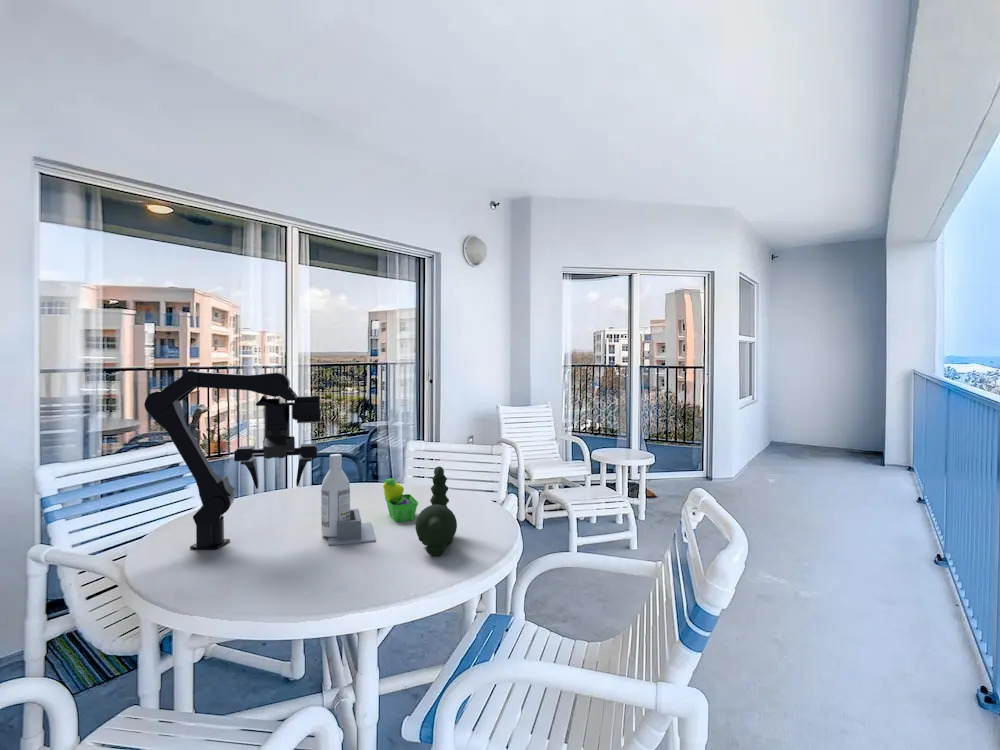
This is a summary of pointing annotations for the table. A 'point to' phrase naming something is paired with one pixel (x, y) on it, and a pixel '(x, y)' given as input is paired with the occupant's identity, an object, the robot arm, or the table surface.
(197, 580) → the table surface
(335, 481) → the bath foam
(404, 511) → the fruit basket
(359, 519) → the gray square holder
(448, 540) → the dark green ornament
